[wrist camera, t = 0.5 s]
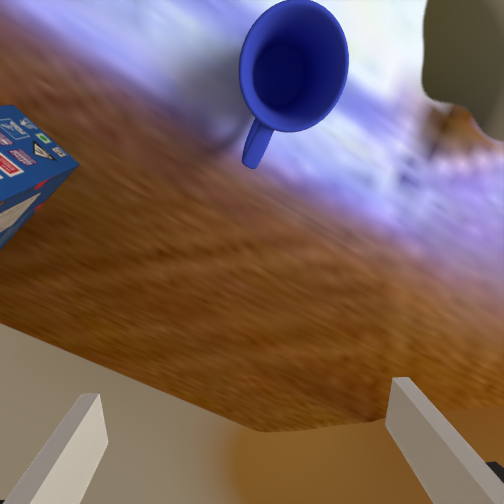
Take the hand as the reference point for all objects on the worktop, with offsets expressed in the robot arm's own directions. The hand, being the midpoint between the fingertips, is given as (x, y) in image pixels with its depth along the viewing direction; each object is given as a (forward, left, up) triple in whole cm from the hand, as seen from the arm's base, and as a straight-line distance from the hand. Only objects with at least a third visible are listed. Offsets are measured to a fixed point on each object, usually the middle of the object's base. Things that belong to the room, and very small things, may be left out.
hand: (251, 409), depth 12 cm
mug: (-10, -6, -27) cm, 30 cm away
